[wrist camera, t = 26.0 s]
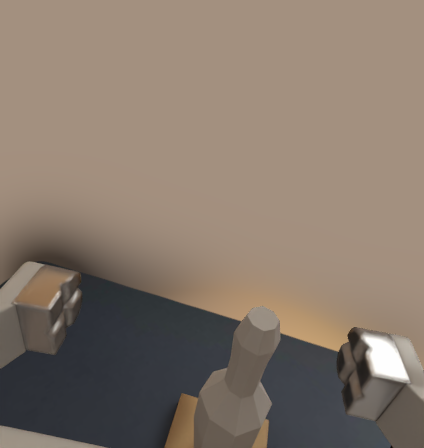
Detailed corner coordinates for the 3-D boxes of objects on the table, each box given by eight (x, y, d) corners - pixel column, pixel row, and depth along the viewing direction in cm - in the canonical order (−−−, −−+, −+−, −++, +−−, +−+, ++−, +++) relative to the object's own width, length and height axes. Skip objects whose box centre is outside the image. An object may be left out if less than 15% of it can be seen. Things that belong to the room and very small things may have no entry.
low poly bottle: (213, 505, 34) (266, 372, 22) (175, 448, 38) (203, 308, 26) (256, 461, 38) (322, 328, 26) (218, 413, 42) (260, 277, 30)
